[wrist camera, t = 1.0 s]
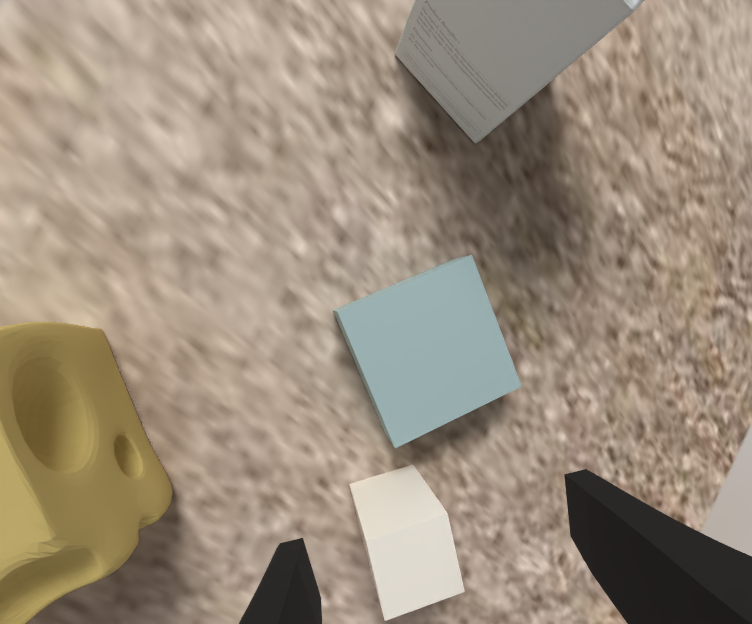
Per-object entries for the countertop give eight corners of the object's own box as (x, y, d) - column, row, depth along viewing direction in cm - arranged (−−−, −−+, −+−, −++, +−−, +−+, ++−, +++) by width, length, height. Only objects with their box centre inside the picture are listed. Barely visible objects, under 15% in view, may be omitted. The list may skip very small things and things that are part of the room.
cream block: (426, 525, 27) (464, 591, 21) (363, 546, 26) (384, 621, 20) (412, 464, 26) (447, 513, 20) (349, 483, 26) (365, 540, 20)
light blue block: (497, 376, 27) (521, 386, 25) (383, 431, 26) (395, 448, 23) (451, 259, 27) (471, 254, 24) (332, 309, 25) (337, 312, 22)
